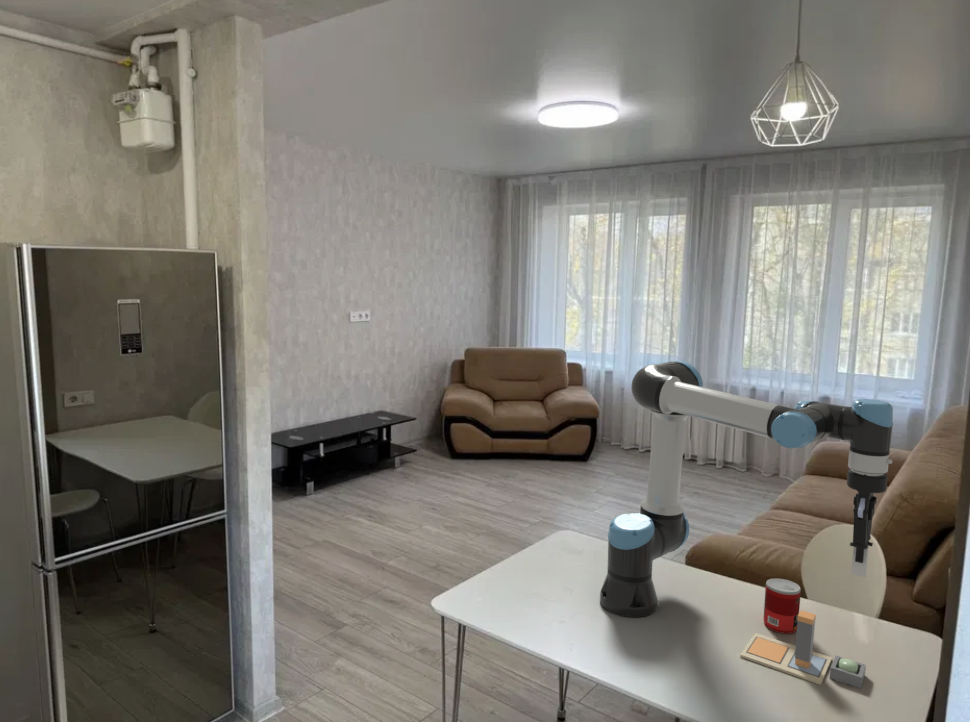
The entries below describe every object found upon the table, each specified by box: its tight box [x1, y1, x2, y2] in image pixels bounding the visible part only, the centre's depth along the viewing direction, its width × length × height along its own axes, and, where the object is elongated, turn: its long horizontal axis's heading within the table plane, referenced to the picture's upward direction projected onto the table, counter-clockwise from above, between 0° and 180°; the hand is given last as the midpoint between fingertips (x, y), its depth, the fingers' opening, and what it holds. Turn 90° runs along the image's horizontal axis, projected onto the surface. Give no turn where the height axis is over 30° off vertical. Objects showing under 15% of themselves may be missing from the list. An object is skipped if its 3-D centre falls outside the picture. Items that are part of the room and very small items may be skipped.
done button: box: [839, 657, 858, 674], centre depth 145 cm, size 4×4×3 cm
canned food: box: [763, 577, 802, 635], centre depth 166 cm, size 8×8×11 cm
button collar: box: [829, 655, 867, 689], centre depth 145 cm, size 6×6×2 cm
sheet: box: [739, 632, 833, 686], centre depth 152 cm, size 17×12×1 cm
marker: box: [795, 610, 817, 669], centre depth 148 cm, size 3×3×12 cm
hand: (858, 574), depth 146 cm, fingers closed
